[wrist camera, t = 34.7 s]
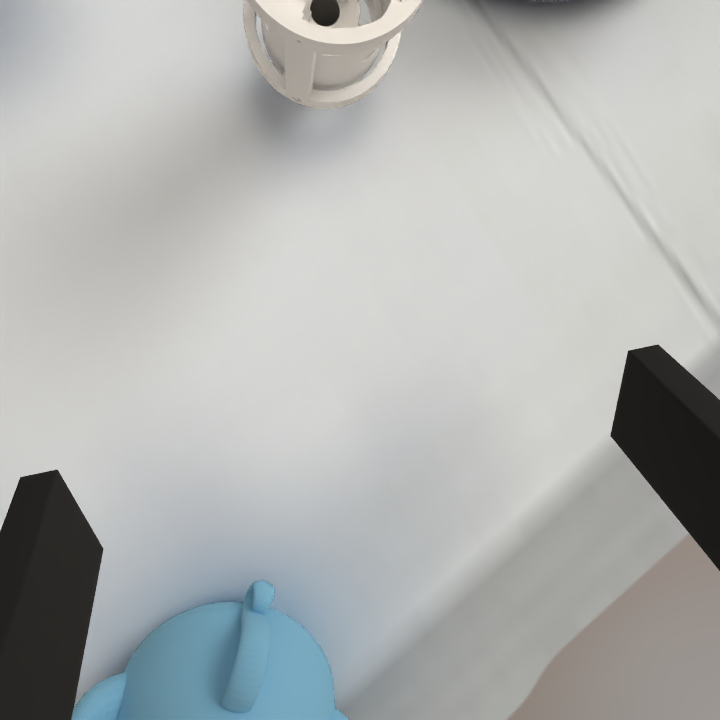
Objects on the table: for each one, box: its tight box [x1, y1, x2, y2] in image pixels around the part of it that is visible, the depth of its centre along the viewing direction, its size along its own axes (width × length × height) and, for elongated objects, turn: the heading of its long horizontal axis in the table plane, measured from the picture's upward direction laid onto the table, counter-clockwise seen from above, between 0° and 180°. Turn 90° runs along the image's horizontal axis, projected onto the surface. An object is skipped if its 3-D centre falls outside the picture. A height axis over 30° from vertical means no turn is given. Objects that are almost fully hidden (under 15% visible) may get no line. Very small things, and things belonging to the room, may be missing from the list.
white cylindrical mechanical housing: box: [243, 0, 423, 109], centre depth 25 cm, size 7×7×15 cm
